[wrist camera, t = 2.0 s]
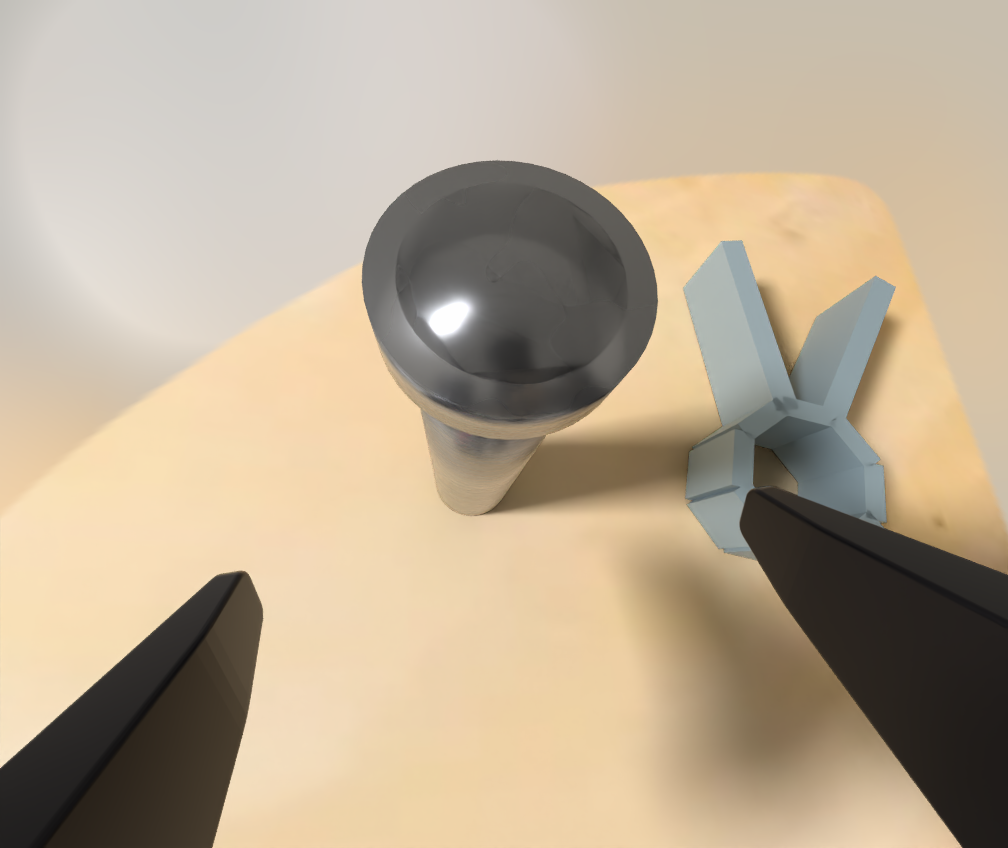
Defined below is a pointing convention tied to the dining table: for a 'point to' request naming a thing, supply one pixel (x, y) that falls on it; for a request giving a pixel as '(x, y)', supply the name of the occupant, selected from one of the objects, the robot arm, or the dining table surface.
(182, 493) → the dining table surface
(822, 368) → the grey ring with prongs
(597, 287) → the hinge pin
